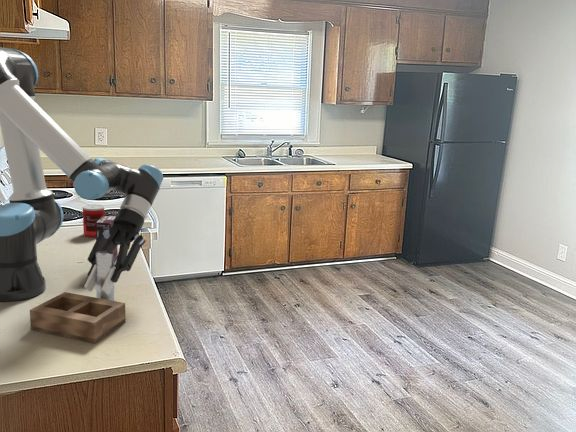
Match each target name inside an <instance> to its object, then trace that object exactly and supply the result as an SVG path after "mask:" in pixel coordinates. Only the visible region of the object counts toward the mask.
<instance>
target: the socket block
mask: <svg viewBox="0 0 576 432" xmlns="http://www.w3.org/2000/svg"><path fill="white" fill-rule="evenodd" d="M29 319H30V321H29V322H30V330H31V331H34V332H40V333H45V334H49V335H53V336H58V337H63V338H66V339H67V338H68V339H73V340H77V341H83V342H86V343H91V344H97V343H98V342H100V341H101V340H102V339H104V338H105V337H106V336H108V335H109V334H111V333H112V332H114V331H115V330H116V329H118V328H119V327H121V326H122V325H124V324H125V323H126V319H127V318H126V303H125V302H121V301H117V300H114V301H111V300H106V299H100V298H97V297H94V296H88V295H83V294H79V293H78V294H77V293H73V292H67V291H64V292H62V293H60V294H58V295H56V296H55V297H52V298H50V299H48V300H46V301H45V302H43V303H41V304H38V305H36V306H35V307H33V308H31V309H29Z"/></svg>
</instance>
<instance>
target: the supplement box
mask: <svg viewBox="0 0 576 432" xmlns="http://www.w3.org/2000/svg"><path fill="white" fill-rule="evenodd" d="M115 217H116V215H113V216H112V215H105V216H102V217H101V218H100V219H99V220H98V221H97V222H96V223H95V225H96V237H95V240H97V238H98V234H99V230H100V229H103V230H109V229H110V227H112V225H113V224H114V219H115ZM109 237H110V235H109V236H108V238H109ZM108 238H107V239H108ZM107 239H106V242H105V244H106V243H107ZM112 252H113V253H114V265H116V261H117V257H118V253H119V249H118V246H117V247H116V248H114V249H113V250H112ZM114 268H115V266H114Z"/></svg>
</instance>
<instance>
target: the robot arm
mask: <svg viewBox="0 0 576 432" xmlns="http://www.w3.org/2000/svg"><path fill="white" fill-rule="evenodd" d="M38 81H39V70H38V67H37V65H36V63H35V62H34V60H33V59H32V58H31V57H30V56H29V55H28V54H26V53H25V52H22V51H21V50H18V49H15V48H12V47H1V46H0V131H1V135H2V141H3V145H4V150H5V155H6V161H7V165H8V172H9V175H10V179H11V186H12V190H13V192H12V194H11V195H10V196H9V197H8V201H9V202H8V203H5V204H0V302H16V301H22V300H26V299H31V298H34V297H36V296H38V295H41V294H42V293H44V291H45V290H46V289H47V288H46V287H47V286H46V285H47V284H46V279H45V277H44V275H43V272H42V270H41V267H40V264H39V263H38V254H37V253H38V252H37V244H39V243H41V242H43V241H44V240H46V239H48V238H51V237H52V236H53V235H55V234H56V232H58V231H59V229H60V228H61V227H62V226H63V222H64V211H63V208H62V206H61V205H60V203H59V202H57V201H56V200H55V196H54V192H53V191H52V190H51V189H49V188H48V187H47V183H46V179H45V178H46V177H45V174H44V168H43V163H42V157H41V152H42V153H43V154H44V155H45V156H46V157H47V158H48V159H49V160H50V161H52V162H53V164H55V165H56V166H57V167H58V168H59V170H61V171H62V173H64V174H65V176H67V177H68V178H69V179H70V180H71V181H72V182H73V188H74V191H75V193H76V195H77V196H78V197H80V198H81V199H84V200H87V201H93V200H96V199H101V198H102V197H104V196H106V194H108V193H110V192H112V191H116V192H120V193H123V194H125V197H124V199H123V201H122V203H121V205H120V207H119V209H118V211H117V213H116V215H115V216H116V217H115V219H114V224H113V225H112V227H110V229H109V230H103V229H100V230H99V234H98V238H97V240H96V239H95V240H96V241H95V242H94V245H93V247H92V249H91V251H90V252H89V254H88V257H87V261H88V262H89V263H90V265H91V267H90V268H89V271H88V272H87V276H88V278H87V280H86V282H85V283H84V286H83V287H84V288H85V289H86V290H87V291H88V292H92V291H93V289H94V287H95V285H96V253H97V252H99V251H112V250H113V249H114V248H116V247H117V248H118V246H119V249H118V257H117V261H116V265H114V266H115V268H111V270H110V272H109V274H108V276H107V279H106V281H105V283H104V285H103V287H102V289H101V291H103V292H104V293H105V294H106V295H109V293H110V290H111V288H112V286H113V284H114V285H115V283H117V282H118V281H119V278H120V276H121V274H122V273H123V272H130V271H131V269H132V267H133V265H134V262H135V261H136V259H137V256H138V255H139V253H140V250H141V248H142V246H144V245H145V243H146V241H147V240H146V238H145V237H144V236H143V235H142V234H140V231H141V230H142V228H143V226H144V224H145V220H146V219H147V217H148V214H149V212H150V210H151V208H152V206H153V203H154V201H155V199H156V197H157V195H158V193H159V191H160V189H161V185H162V183H163V180H164V175H163V172H162V171H161V170H160V169H159V168H157V167H156V166H155V165H152V164H146V163H145V164H141V165H140V167H138V169H136V168H133V167H128V166H126V165H123V164H120V163H118V162H115V161H113V160H110V159H108V158H107V159H106V158H102V157H96V158H94V159H92V157H91V156H90V155H88V153H86V151H85V150H84V149H82V148H81V146H80V145H79V144H77V143H76V141H75V140H74V139H73V138H71V137H70V136H69V134H68V133H67V132H66V131H64V129H62V128H61V127H60V125H59V124H58V123H57V122H55V120H53V118H52V117H50V115H48V113H46V112H45V111H44V110H43V109H42V107H40V106H39V104H38V103H37V102H35V99H36V98H37V97H36V93H35V91H36V90H35V87H36V85H37V84H38ZM40 151H41V152H40ZM109 235H110V237H109V238H108V236H109ZM107 238H108V239H107ZM106 239H107V243H106V244H105V242H106ZM131 243H132V244H131Z"/></svg>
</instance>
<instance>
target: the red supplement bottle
mask: <svg viewBox="0 0 576 432" xmlns="http://www.w3.org/2000/svg"><path fill="white" fill-rule="evenodd" d="M102 216H106V214H105V206H104V205H102V204H97V203H96V204H93V203H92V204H86V205H83V206H82V225H83V229H82V230H83V235H84V236H85V237H87V238H96V225H95V223H96V222H97V221H98V220H99V219H100V218H101V217H102Z"/></svg>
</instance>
